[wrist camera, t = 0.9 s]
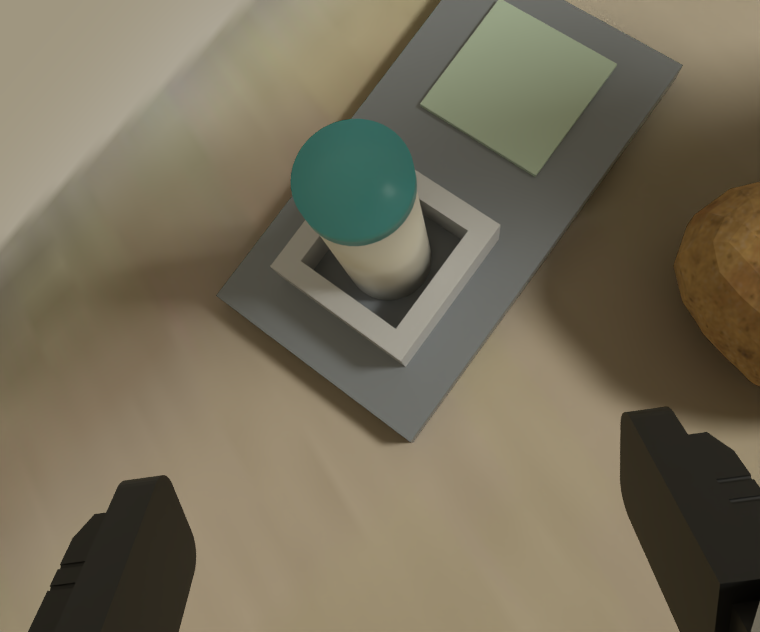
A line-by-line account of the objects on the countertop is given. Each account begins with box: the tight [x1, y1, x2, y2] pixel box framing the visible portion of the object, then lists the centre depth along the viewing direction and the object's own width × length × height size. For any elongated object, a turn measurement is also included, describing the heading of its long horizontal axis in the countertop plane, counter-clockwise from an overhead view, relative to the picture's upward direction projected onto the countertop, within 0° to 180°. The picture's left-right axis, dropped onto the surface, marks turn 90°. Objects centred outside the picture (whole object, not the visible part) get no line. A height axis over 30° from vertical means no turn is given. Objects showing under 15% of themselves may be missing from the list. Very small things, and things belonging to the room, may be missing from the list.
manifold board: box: [216, 0, 683, 442], centre depth 39 cm, size 26×14×4 cm, turn 143°
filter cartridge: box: [291, 119, 432, 300], centre depth 34 cm, size 5×5×12 cm
